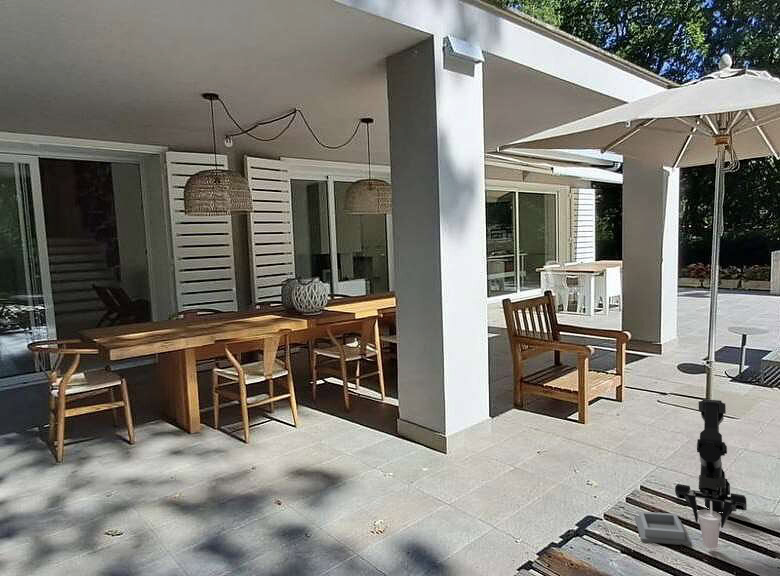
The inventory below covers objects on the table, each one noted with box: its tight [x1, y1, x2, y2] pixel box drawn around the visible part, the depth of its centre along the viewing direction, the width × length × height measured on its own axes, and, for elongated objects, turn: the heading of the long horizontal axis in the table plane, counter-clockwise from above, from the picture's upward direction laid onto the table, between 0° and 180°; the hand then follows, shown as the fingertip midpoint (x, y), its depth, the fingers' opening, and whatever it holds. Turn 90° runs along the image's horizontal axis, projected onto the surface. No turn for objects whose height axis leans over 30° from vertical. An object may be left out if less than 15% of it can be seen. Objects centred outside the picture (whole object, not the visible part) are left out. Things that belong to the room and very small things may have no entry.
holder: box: [634, 510, 691, 546], centre depth 172 cm, size 14×14×4 cm
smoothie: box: [697, 501, 722, 549], centre depth 160 cm, size 6×6×14 cm
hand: (709, 524), depth 158 cm, fingers closed on smoothie, 6 cm apart
